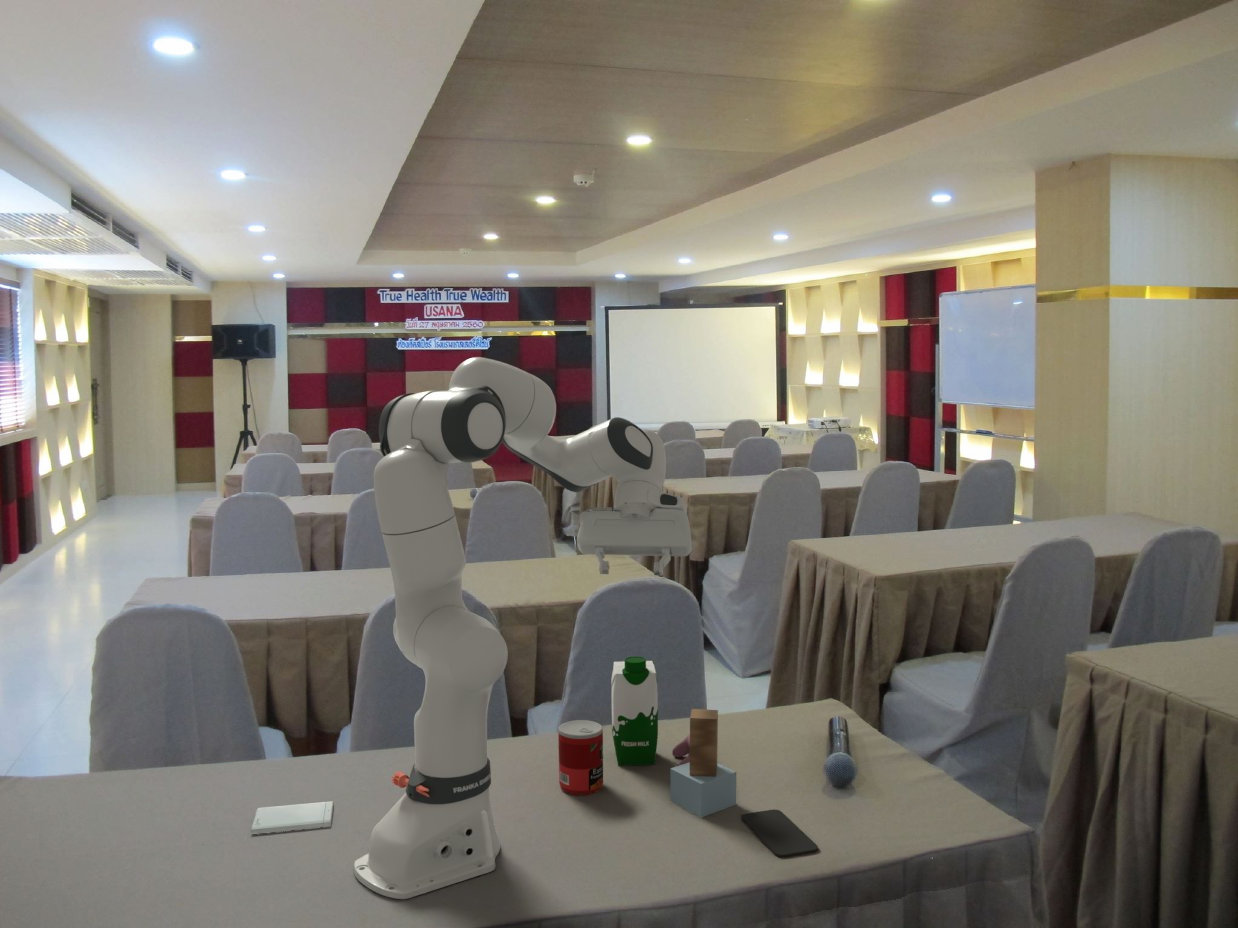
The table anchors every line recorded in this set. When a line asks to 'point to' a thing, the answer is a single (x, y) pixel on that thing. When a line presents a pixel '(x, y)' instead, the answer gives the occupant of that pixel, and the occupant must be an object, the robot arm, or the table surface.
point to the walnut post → (703, 742)
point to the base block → (702, 790)
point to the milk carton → (635, 711)
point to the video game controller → (683, 750)
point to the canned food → (580, 757)
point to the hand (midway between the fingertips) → (630, 573)
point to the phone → (779, 833)
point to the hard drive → (293, 817)
